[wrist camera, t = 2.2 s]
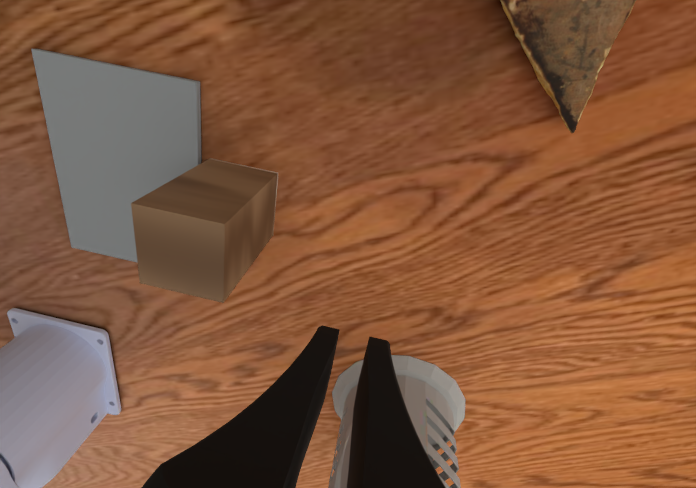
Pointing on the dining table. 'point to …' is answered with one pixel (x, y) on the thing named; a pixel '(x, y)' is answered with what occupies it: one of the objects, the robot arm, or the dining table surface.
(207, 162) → the walnut block
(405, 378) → the french press
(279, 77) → the dining table surface
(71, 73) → the felt mat
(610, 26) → the shard
